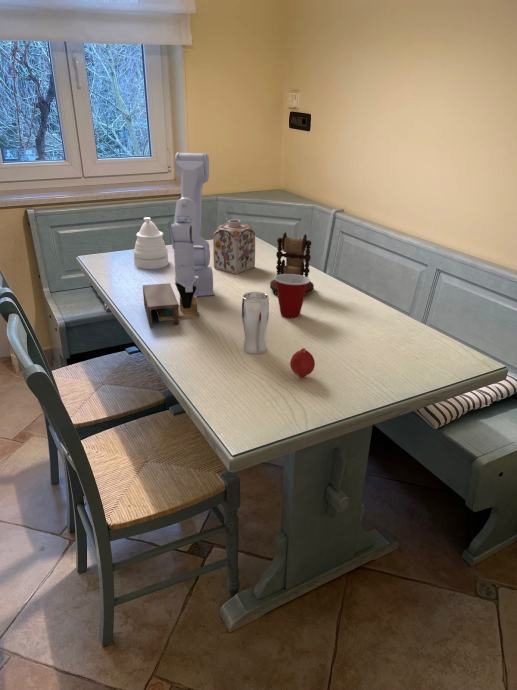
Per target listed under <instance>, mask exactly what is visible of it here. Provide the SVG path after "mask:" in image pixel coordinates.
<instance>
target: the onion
mask: <svg viewBox="0 0 517 690" xmlns="http://www.w3.org/2000/svg"><path fill="white" fill-rule="evenodd" d="M289 361H290V363H289V366H290V369H291V371H292V372H293V373H294V374H295V375H296V376H298V377H299V378H302V379H303V378H306V377H307V376H309V375H310V374H312V372H313V371H314V369H315V367H316V365H315V364H316V363H315V358H314V357H313V355H312V354H311V353H310V352H309V351H308V350H306V348H305V347H302V348H301V349H299V350H297V351H296V352H294V353H293V355H292V356H291V359H290V360H289Z"/></svg>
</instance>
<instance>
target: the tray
mask: <svg viewBox="0 0 517 690" xmlns="http://www.w3.org/2000/svg"><path fill="white" fill-rule="evenodd" d="M178 305H179V307H178V311H179V320H181V319H182V320H183V319H185V320H186V319H192V318H193V319H195V318H200V312H199V310H198V296H193V298H192V304H191V308H186V309H184V308H183V305H182V300H181V297H180V296H179V304H178ZM155 311H156V314H157V317H158V321H159V322H160V321H161V322H163V321H173V308H163V309H155Z"/></svg>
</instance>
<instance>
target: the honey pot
mask: <svg viewBox="0 0 517 690" xmlns="http://www.w3.org/2000/svg"><path fill="white" fill-rule="evenodd" d="M151 219H152V218H151V217H149V216H148V217H146V216H145V217H143V221H144V222H143V223H142V225H141V227H140V229H139V231H138V232H137V233H136V235H135V236H136V237H137V238H136V241H135V245H134V249H133V261H134V267H136V268H139V269H144V270H146V269H147V270H150V269H151V270H154V269H161V268H164V267H166V266H168V265H169V253H168V248H167V246H166V244H165V241H164V238H163V236H164V232H163V231H160V230H159V229H158V226H157V225H156V224H155V223H154V222H153V221H151Z"/></svg>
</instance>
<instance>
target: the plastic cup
mask: <svg viewBox="0 0 517 690" xmlns="http://www.w3.org/2000/svg"><path fill="white" fill-rule="evenodd" d="M276 275H277V274H276ZM276 275H275V276H274V277H273V280H275V282H276V286H277V292H278V293H277V292H276V293H277V299H278V306H279V311H280V312H279V313H280V316H281V317H283V318H286V319H296V318H297V319H298V317H300V314H301V311H302V307H303V303H304V300H305V295H306V294H305V292H306V289H307V286H308V283H309V282H311V278H309V276H308V277H305V275H303V276H302V275H296V274H280V275H277V276H276Z"/></svg>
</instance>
